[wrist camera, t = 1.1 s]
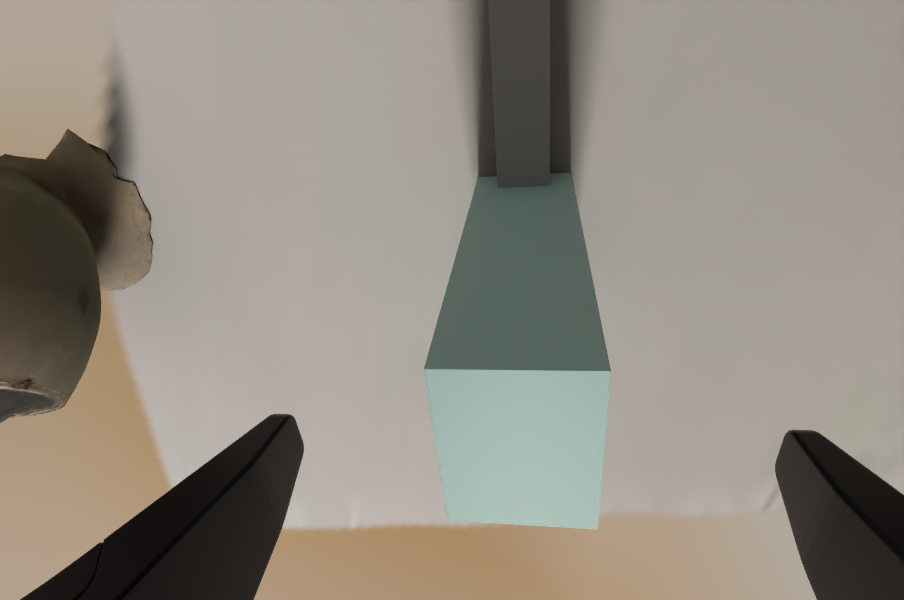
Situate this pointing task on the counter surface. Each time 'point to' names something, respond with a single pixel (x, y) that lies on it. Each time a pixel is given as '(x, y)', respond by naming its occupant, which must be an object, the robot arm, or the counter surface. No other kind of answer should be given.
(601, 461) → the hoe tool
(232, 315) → the counter surface
